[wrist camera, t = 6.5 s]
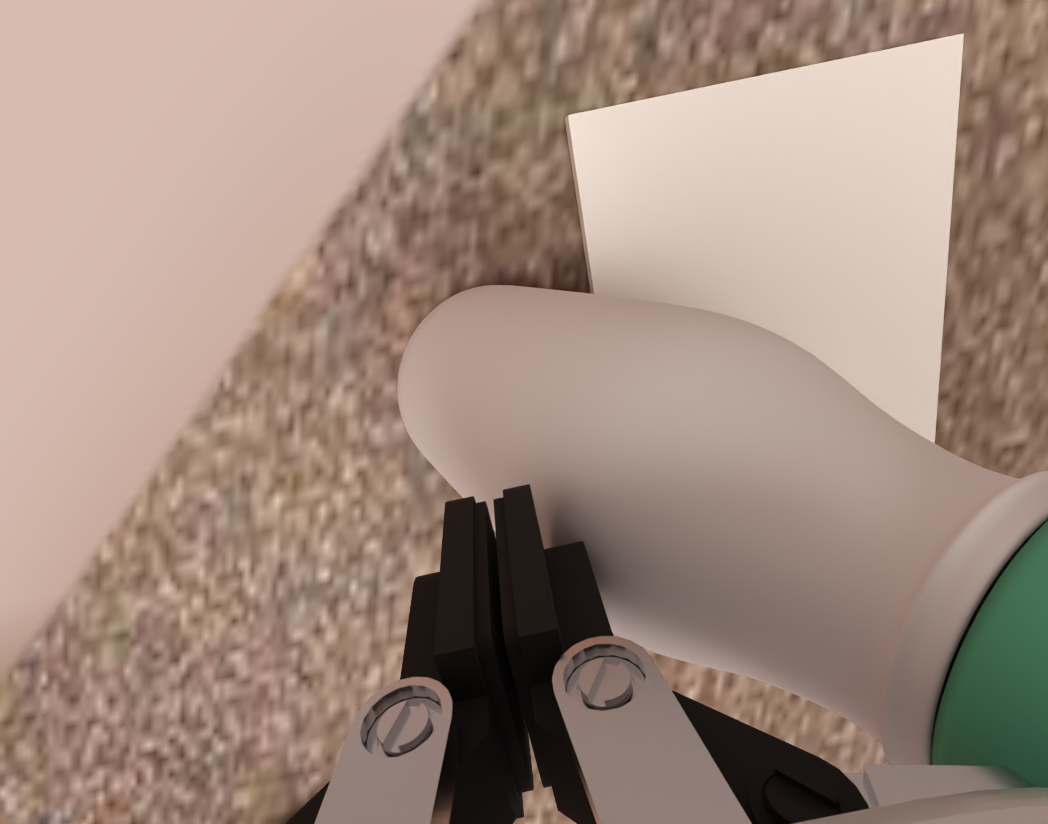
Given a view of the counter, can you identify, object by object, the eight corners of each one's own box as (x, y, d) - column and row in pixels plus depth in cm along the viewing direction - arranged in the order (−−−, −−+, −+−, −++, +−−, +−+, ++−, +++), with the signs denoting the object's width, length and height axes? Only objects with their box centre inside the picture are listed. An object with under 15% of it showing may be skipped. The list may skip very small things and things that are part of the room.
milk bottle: (354, 427, 21) (867, 1171, 4) (456, 243, 22) (1404, 183, 4) (517, 500, 25) (1148, 1050, 8) (603, 343, 25) (1426, 538, 8)
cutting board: (943, 40, 21) (963, 33, 20) (916, 474, 28) (931, 484, 27) (564, 118, 21) (568, 115, 21) (626, 531, 28) (630, 543, 27)
